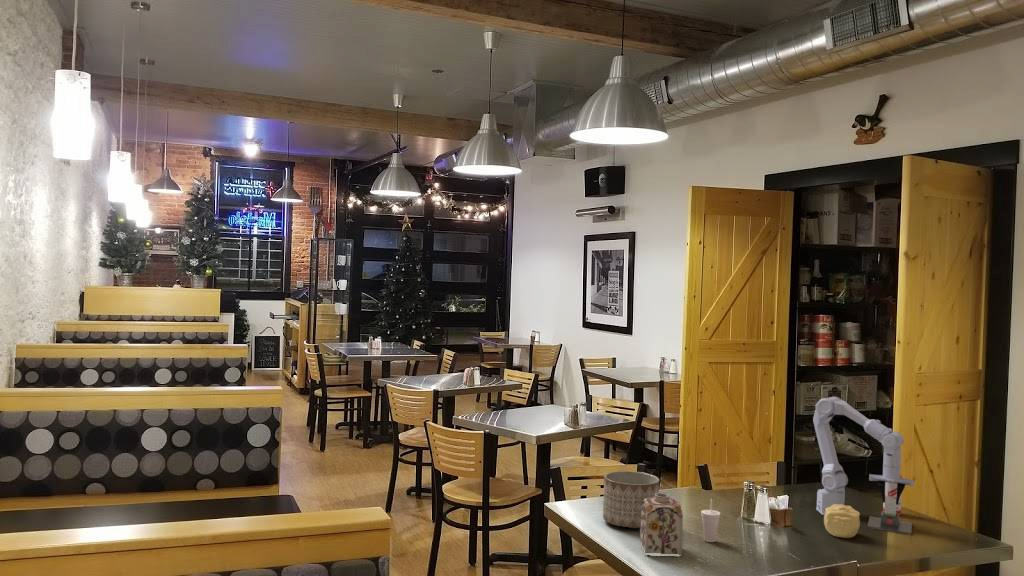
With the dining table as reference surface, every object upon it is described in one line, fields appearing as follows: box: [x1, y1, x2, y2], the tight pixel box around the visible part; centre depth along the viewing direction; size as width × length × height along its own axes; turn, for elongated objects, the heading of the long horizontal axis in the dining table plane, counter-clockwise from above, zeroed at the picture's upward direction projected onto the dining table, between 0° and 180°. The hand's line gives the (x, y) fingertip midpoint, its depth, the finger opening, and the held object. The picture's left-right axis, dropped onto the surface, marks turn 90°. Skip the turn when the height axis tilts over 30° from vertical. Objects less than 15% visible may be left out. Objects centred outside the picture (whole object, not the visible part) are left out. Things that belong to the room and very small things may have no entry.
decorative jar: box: [639, 492, 684, 555], centre depth 245 cm, size 12×12×18 cm
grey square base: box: [867, 510, 913, 536], centre depth 279 cm, size 14×14×4 cm
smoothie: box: [700, 498, 721, 541], centre depth 256 cm, size 6×6×14 cm
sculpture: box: [823, 504, 861, 539], centre depth 267 cm, size 11×12×11 cm
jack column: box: [884, 496, 896, 517], centre depth 279 cm, size 4×4×7 cm
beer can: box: [882, 472, 903, 515], centre depth 295 cm, size 6×6×16 cm
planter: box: [602, 470, 660, 529], centre depth 272 cm, size 19×19×16 cm
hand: (890, 502), depth 279 cm, fingers closed on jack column, 4 cm apart
